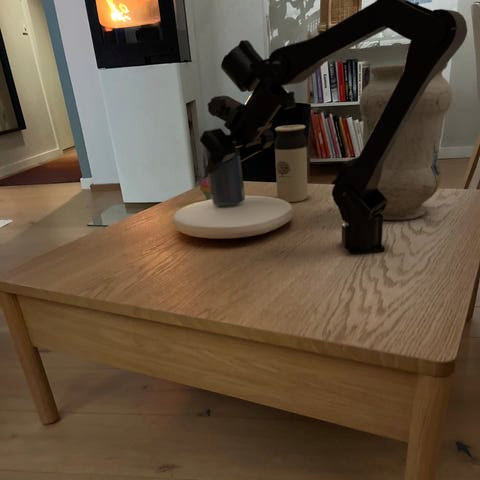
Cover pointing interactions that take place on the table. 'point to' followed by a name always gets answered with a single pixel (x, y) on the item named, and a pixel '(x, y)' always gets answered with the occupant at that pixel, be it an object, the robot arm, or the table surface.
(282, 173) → the travel mug
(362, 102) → the vase
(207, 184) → the cupcake
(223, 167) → the cup
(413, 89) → the robot arm
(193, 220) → the plate
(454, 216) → the table surface
